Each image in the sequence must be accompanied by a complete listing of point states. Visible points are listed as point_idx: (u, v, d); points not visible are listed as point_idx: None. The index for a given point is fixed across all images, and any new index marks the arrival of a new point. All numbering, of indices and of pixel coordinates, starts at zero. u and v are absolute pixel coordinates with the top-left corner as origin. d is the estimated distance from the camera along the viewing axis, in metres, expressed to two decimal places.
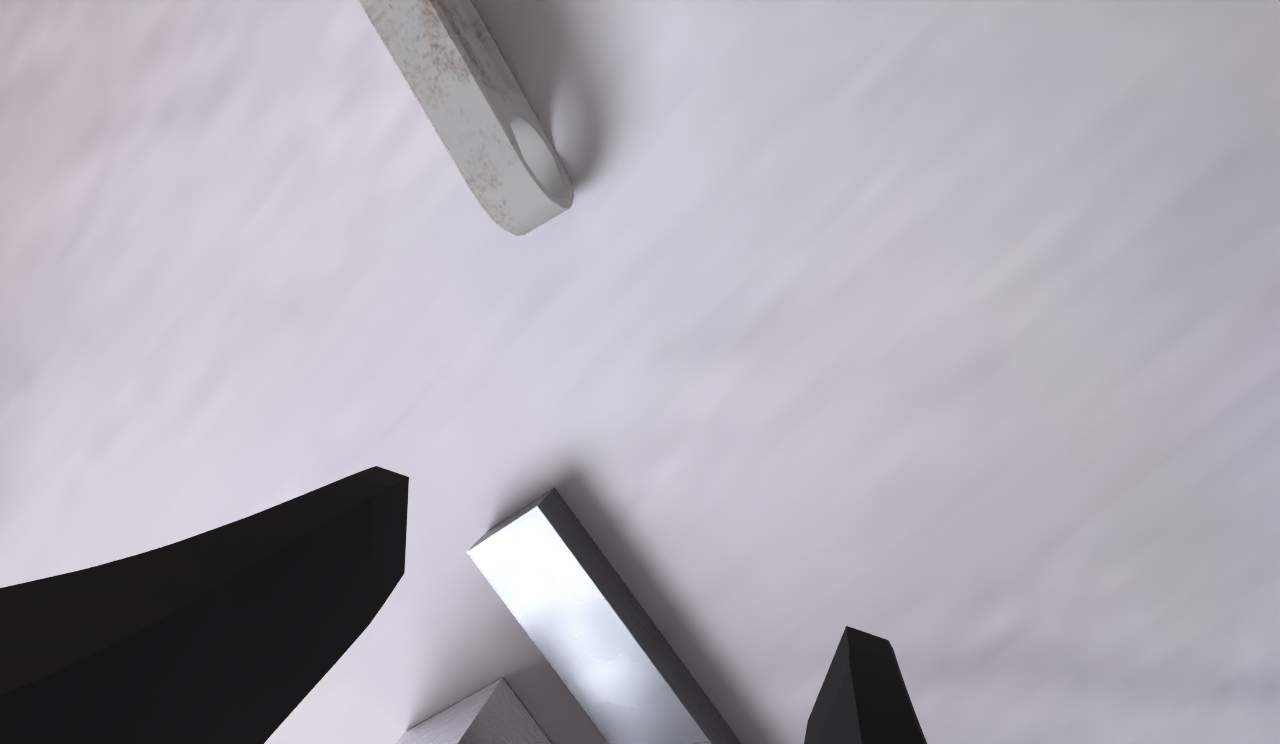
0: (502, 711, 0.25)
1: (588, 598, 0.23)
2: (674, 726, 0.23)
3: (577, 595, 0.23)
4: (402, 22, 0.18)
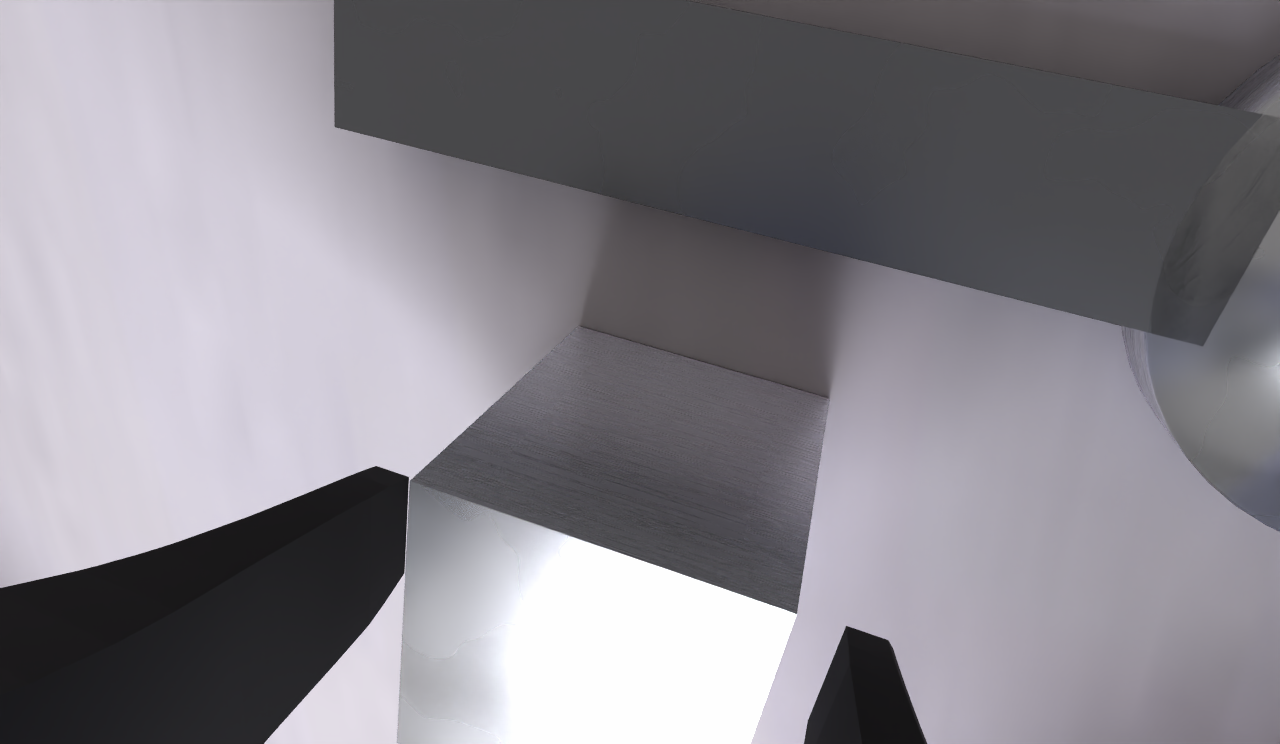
0: (594, 352, 0.14)
1: (516, 1, 0.11)
2: (822, 83, 0.11)
3: (499, 16, 0.12)
4: None
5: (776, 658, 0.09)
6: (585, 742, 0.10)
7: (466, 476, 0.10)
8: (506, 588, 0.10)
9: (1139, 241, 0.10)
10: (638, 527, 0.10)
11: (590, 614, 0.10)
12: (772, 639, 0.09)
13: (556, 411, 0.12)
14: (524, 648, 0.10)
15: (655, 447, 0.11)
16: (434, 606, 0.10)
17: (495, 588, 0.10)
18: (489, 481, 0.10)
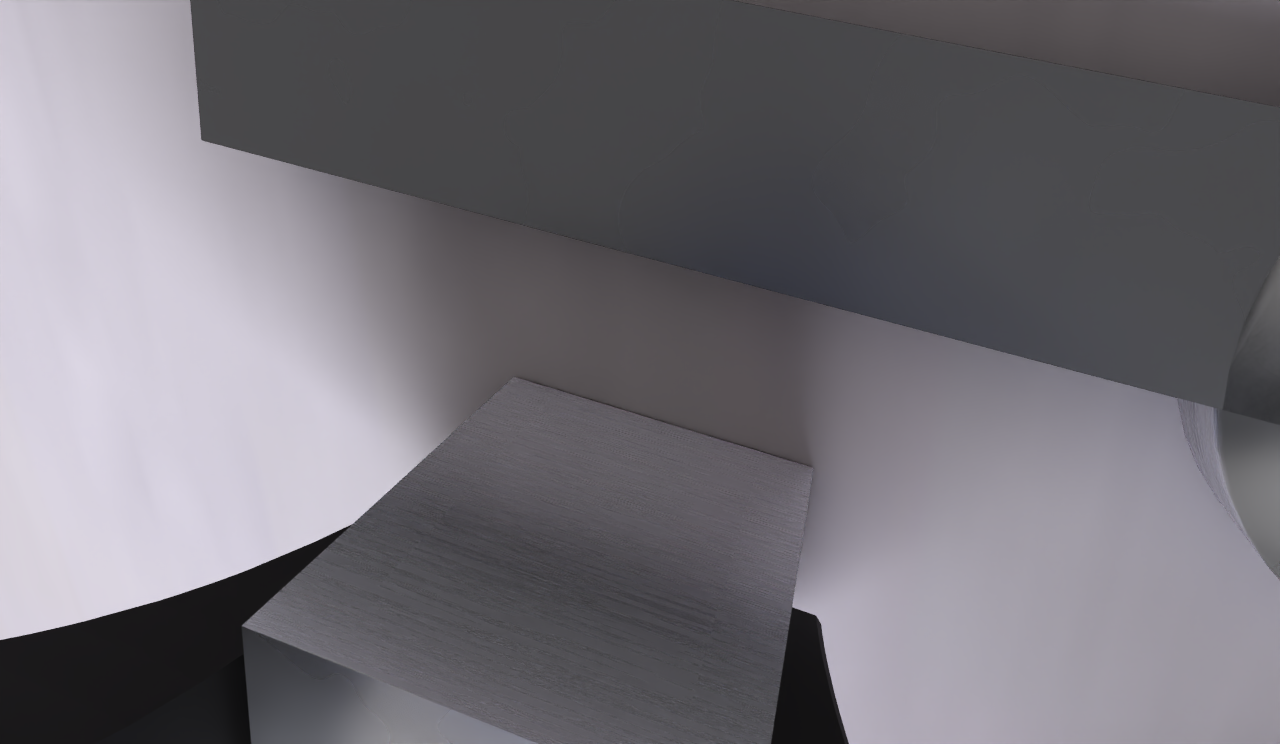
0: (528, 413, 0.11)
1: None
2: (799, 86, 0.08)
3: (390, 1, 0.09)
4: None
5: None
6: None
7: (323, 614, 0.07)
8: None
9: (1214, 294, 0.08)
10: (549, 687, 0.07)
11: None
12: None
13: (465, 502, 0.09)
14: None
15: (588, 553, 0.09)
16: None
17: None
18: (354, 620, 0.07)
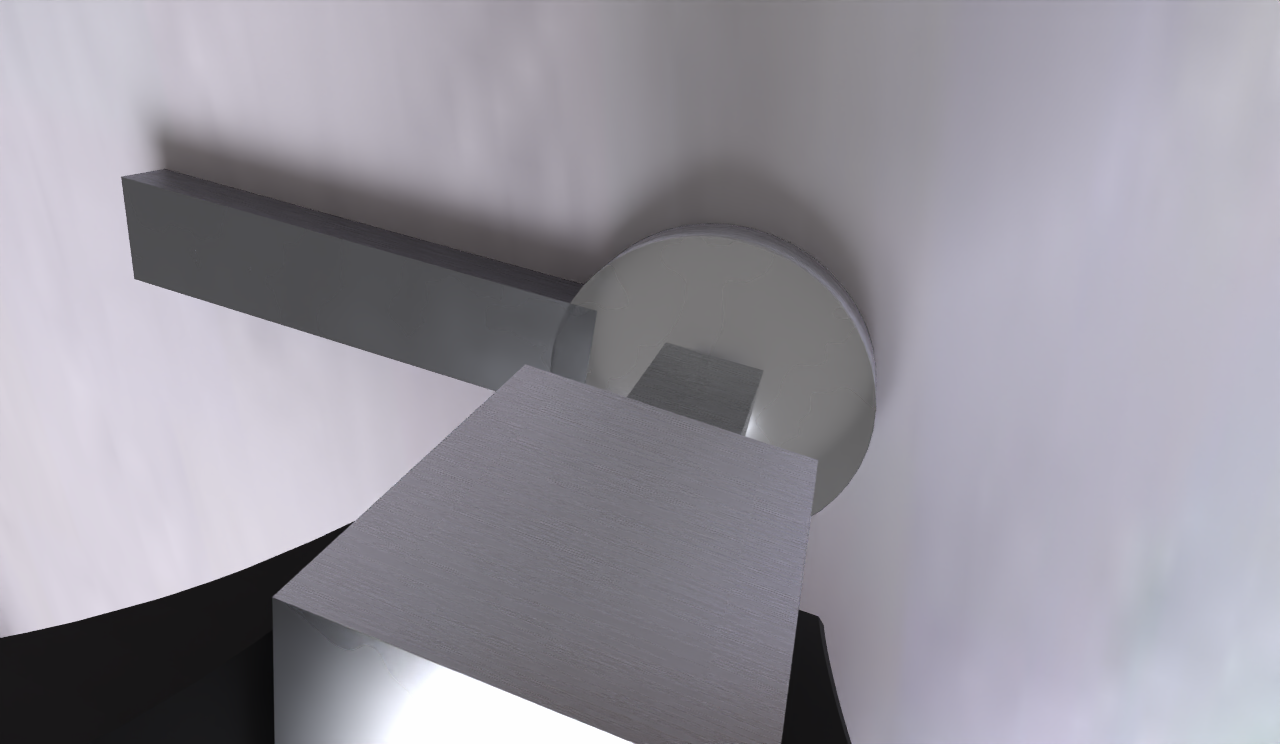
0: (540, 400, 0.12)
1: (220, 221, 0.20)
2: (375, 274, 0.20)
3: (213, 227, 0.20)
4: None
5: None
6: None
7: (351, 587, 0.08)
8: (400, 733, 0.08)
9: (536, 362, 0.19)
10: (571, 662, 0.07)
11: None
12: None
13: (483, 484, 0.09)
14: None
15: (603, 536, 0.09)
16: None
17: (386, 732, 0.08)
18: (381, 594, 0.08)
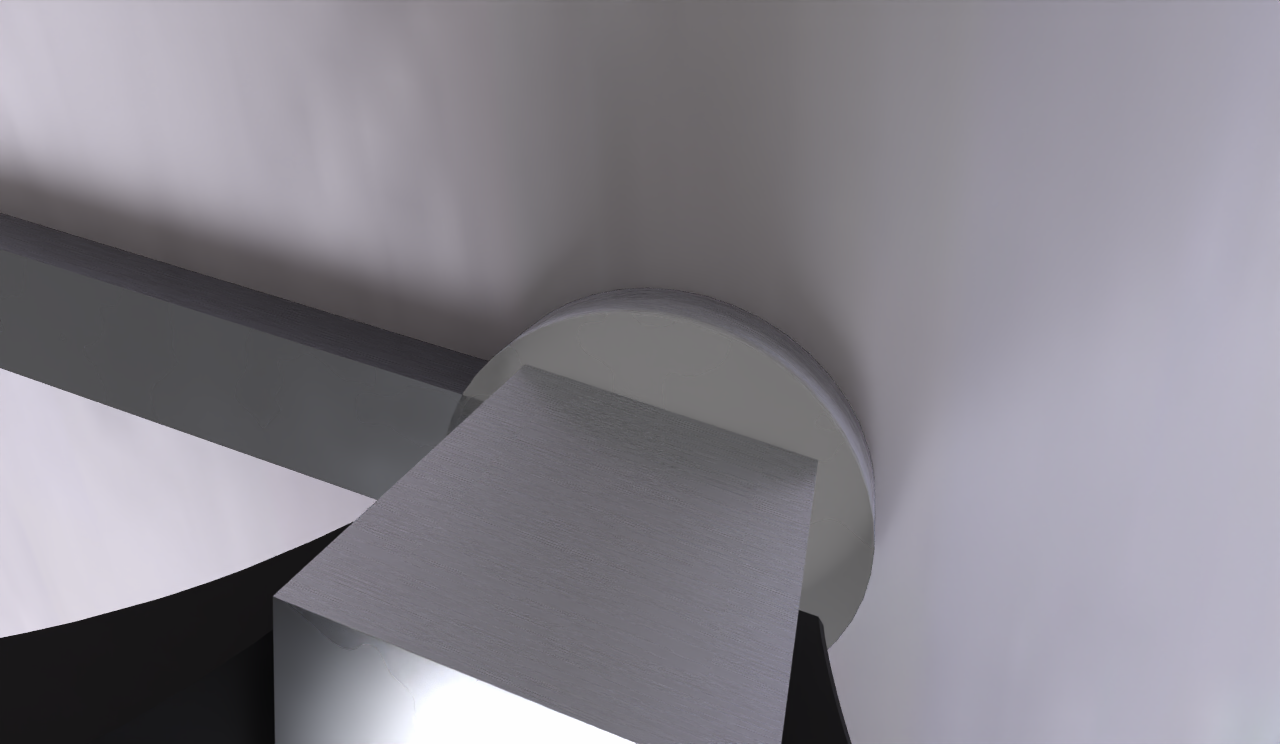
0: (540, 399, 0.12)
1: (20, 275, 0.16)
2: (215, 347, 0.15)
3: (12, 283, 0.16)
4: None
5: None
6: None
7: (351, 587, 0.08)
8: (400, 733, 0.08)
9: None
10: (571, 661, 0.07)
11: None
12: None
13: (484, 484, 0.09)
14: None
15: (604, 536, 0.09)
16: None
17: (386, 732, 0.08)
18: (381, 594, 0.08)
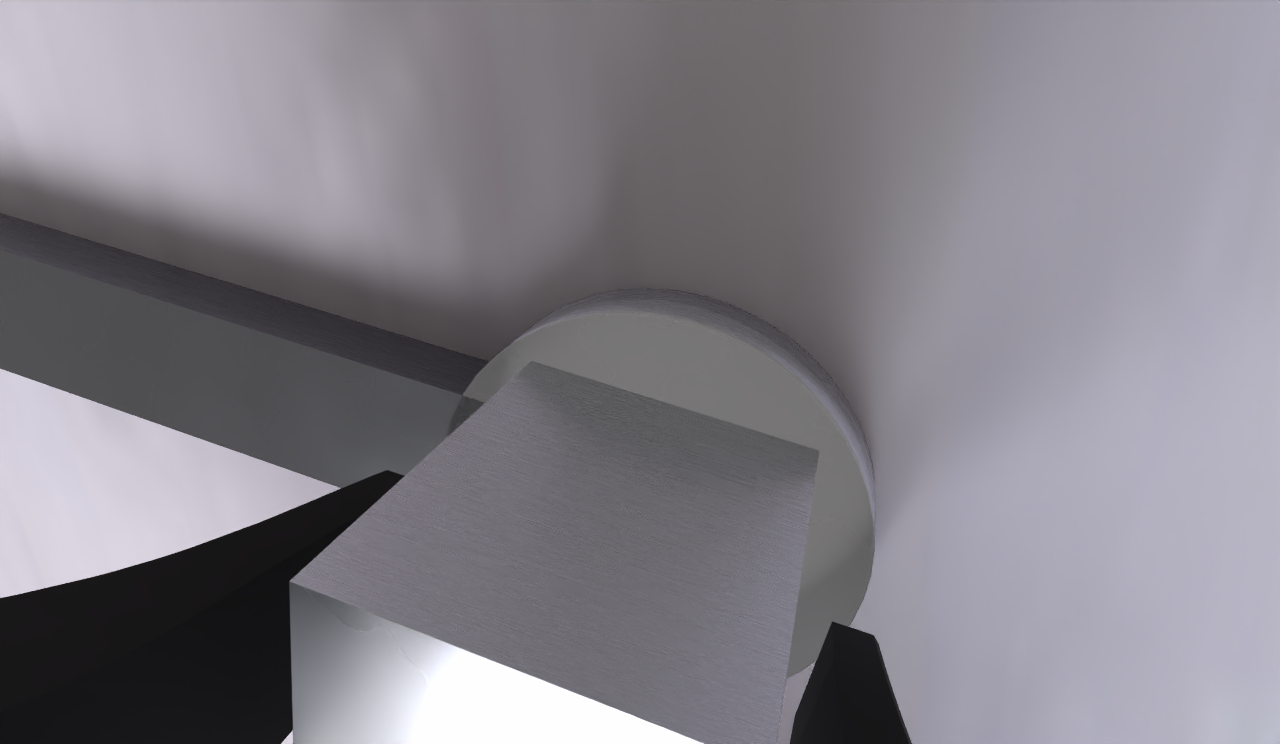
0: (546, 394, 0.12)
1: (20, 276, 0.16)
2: (215, 348, 0.15)
3: (13, 284, 0.16)
4: None
5: None
6: None
7: (365, 573, 0.08)
8: (412, 712, 0.08)
9: None
10: (577, 641, 0.08)
11: None
12: None
13: (491, 475, 0.10)
14: None
15: (608, 523, 0.09)
16: (329, 725, 0.08)
17: (399, 711, 0.08)
18: (393, 578, 0.08)
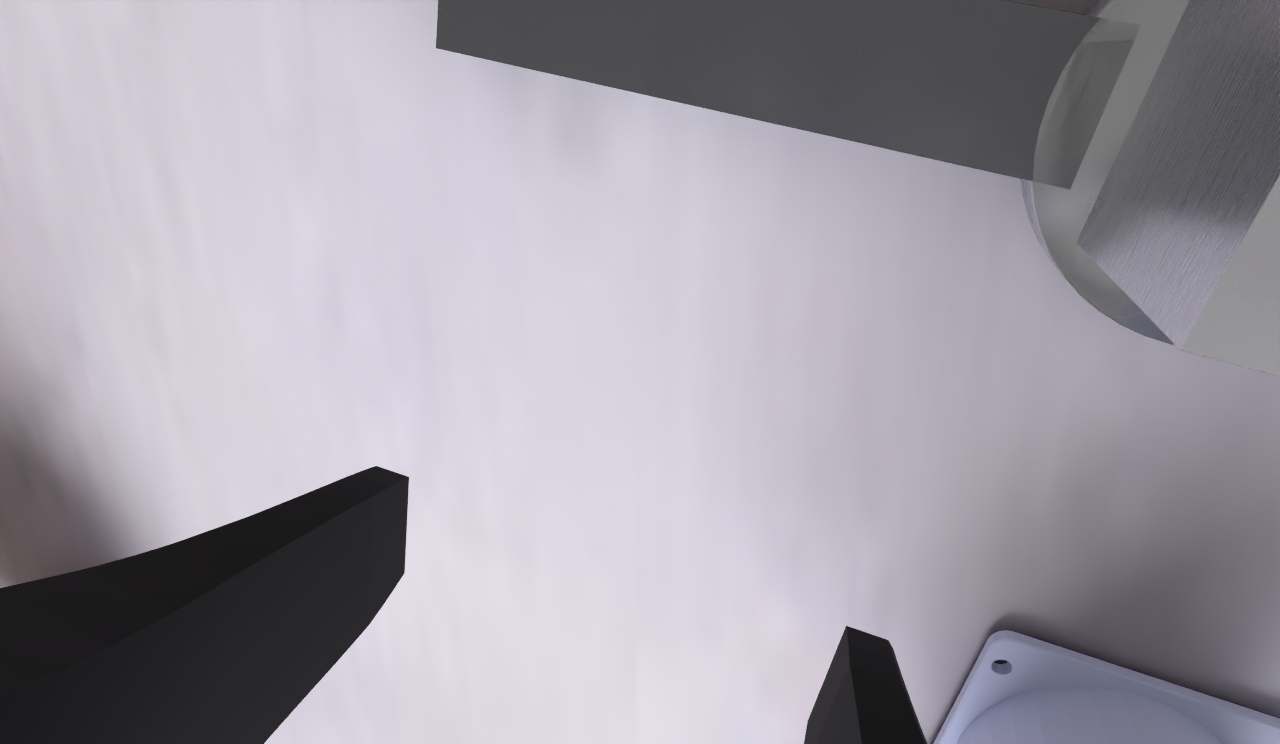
0: None
1: None
2: (801, 3, 0.15)
3: None
4: None
5: None
6: None
7: None
8: None
9: (1023, 113, 0.15)
10: None
11: None
12: None
13: None
14: None
15: None
16: None
17: None
18: None
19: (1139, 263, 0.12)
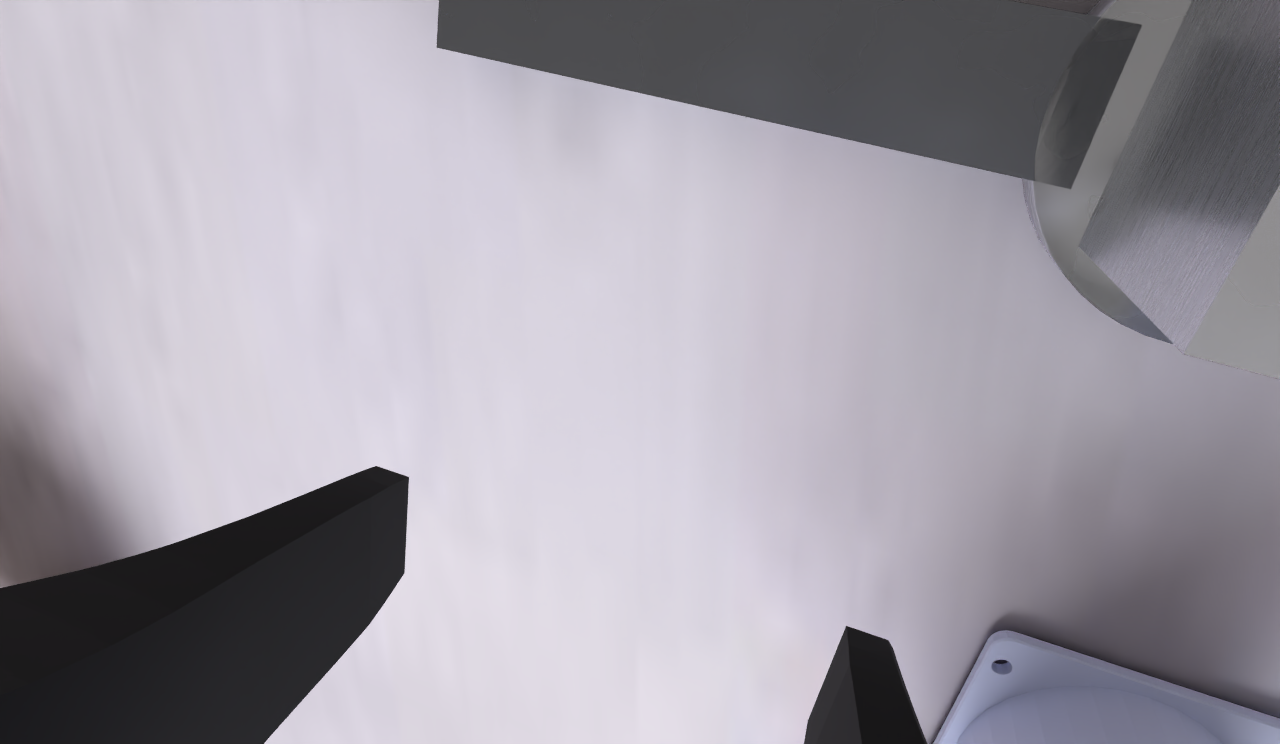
0: None
1: None
2: (801, 3, 0.15)
3: None
4: None
5: None
6: None
7: None
8: None
9: (1024, 112, 0.15)
10: None
11: None
12: None
13: None
14: None
15: None
16: None
17: None
18: None
19: (1142, 267, 0.12)
